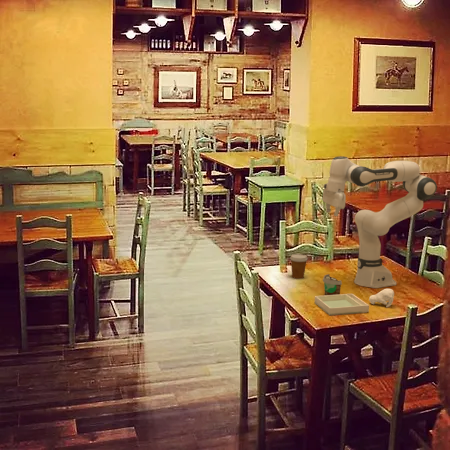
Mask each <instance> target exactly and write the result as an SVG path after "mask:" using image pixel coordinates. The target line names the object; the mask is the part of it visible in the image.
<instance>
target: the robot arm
mask: <svg viewBox="0 0 450 450" xmlns="http://www.w3.org/2000/svg"><path fill="white" fill-rule="evenodd" d="M329 167H330V168H329V178H328V180H327V182H326V183H324V184H323V192H322V201H323V203H325V207H326V210H325V212H326V213H329V214H330V213H331V207H334V209H335V211H334V212H333V216H335V217H338V216H339V213H340V211H341V210H344V209H345V207H346V200H347V199H346V194H345V187H346V182H349V183H351V184H354V185H356V186H358V187H361V188H362V187H366V186H368V185H370V184H372V183H379V182H386V181H387V182H390V183H391V182H392V183H393V182H394V183H396V182H397V183H399V182H400V183H401V182H402V187H403V189H404V190H405V191H406V192H407V194H406V195H405V196H402V197H400V198H398V199H396V200H394V201H392V202H388V203H387V204H386V205H385V206H384V208H383V209H381V210H380V211H377V212H375V211H373V210H370V209H360V210H358V212H356V214H355V215H354V222H355V225H356V228H357V233H358V240H359V242H358V243H359V251H358V257H357V269H356V275H355V279H354V280H353V283H354V284H356V285H358V286H360V287H361V286H362V287H367V288H372V289H378V288H385V287H393V286H397V281H396V280H395V279H393V274H392V272H391V270H390V269H388V268H387V267H386V266H385V265H384V264H386V263H387V260H386V259H383V258H381V248H382V245H381V241H380V238H379V237H380V236H381V237H382V236H384V235H386V234H388V232H389V231H390V228H392V227H393V226H395V224H398V223H399V222H401V221H403V220H406V219H408V218H410V217H412V216H414V215H415V214H418V213H419V212H420V211H421V210H422V209H423V208H424V202H427V201H428V200H429V199H430V198H432V197H433V196H434V195H435V193H436V192H437V189H438V184H437V183H436V181H435V179H433V178H431V177H429V176H425V175H423V174H420V172H421V170H420V166H419V164H418V163H417V162H416V161H412V160H393V161H389V162H387V163H385V164H384V166H383V167H382V168H376V169H375V168H374V169H371V168H369V167H366V166H362V165H358V164H356V163H355V162H353V161H351V160H350V159H349V158H348V157H347V156H341V155H340V156H339V155H338V156H335V157H334V158H332V159H331V164H330V166H329Z"/></svg>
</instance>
